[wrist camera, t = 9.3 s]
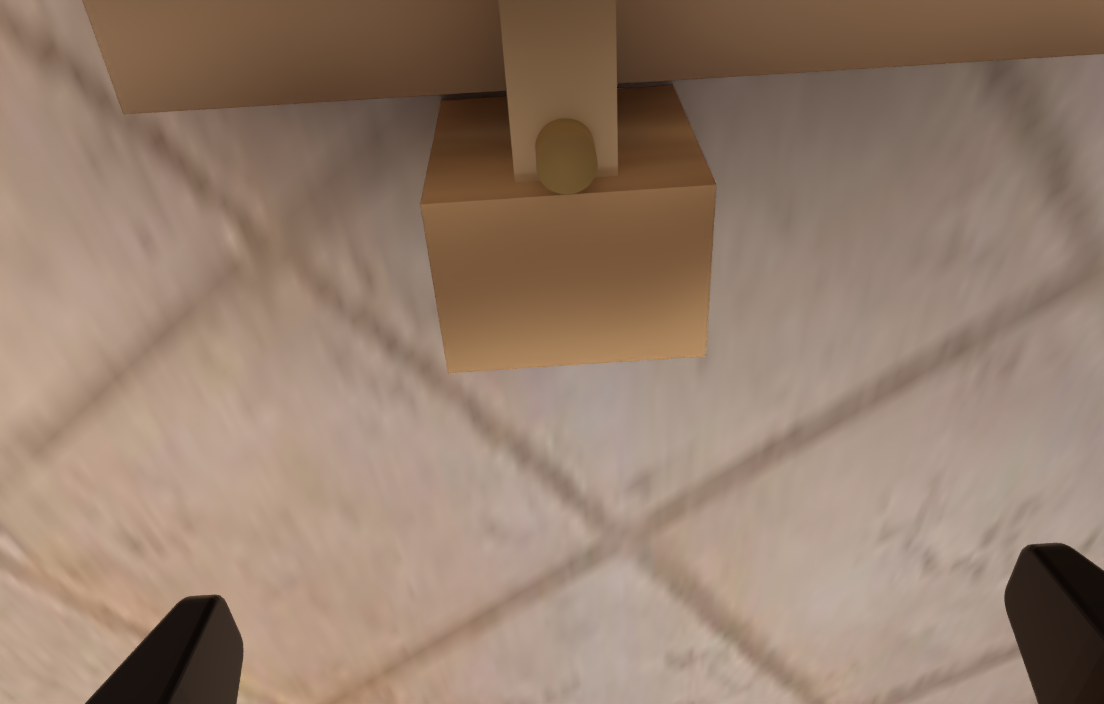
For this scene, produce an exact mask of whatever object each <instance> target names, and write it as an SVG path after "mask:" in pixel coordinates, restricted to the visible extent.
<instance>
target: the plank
mask: <svg viewBox="0 0 1104 704" xmlns="http://www.w3.org/2000/svg"><path fill="white" fill-rule="evenodd" d="M83 3H84V6H85V9H86V12H87V14H88V17H89V20H90V23H91V25H92V28H93V31H94V34H95V37H96V39H97V42H98V45H99V48H100V50H101V53H102V56H103V59H104V62H105V64H106V67H107V70H108V73H109V75H110V78H111V81H112V84H113V87H114V89H115V92H116V95H117V98H118V100H119V103H120V106H121V109H122V112H123V114H136V113H152V112H168V111H184V110H200V109H217V108H233V107H249V106H265V105H281V104H298V103H314V102H330V101H346V100H362V99H379V98H395V97H411V96H427V95H443V94H460V93H476V92H492V91H507V89H506V78H505V66H504V55H503V44H502V33H501V22H500V11H499V0H83ZM616 51H617V84H622V83H638V82H654V81H670V80H687V79H703V78H719V77H735V76H751V75H768V74H784V73H800V72H816V71H832V70H849V69H865V68H881V67H897V66H913V65H930V64H946V63H962V62H978V61H994V60H1011V59H1027V58H1043V57H1059V56H1075V55H1092V54H1104V0H616Z"/></svg>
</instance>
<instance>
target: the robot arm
mask: <svg viewBox="0 0 1104 704" xmlns="http://www.w3.org/2000/svg"><path fill="white" fill-rule="evenodd" d="M1004 599H1005V607H1006V612H1007V615H1008V618H1009V621H1010V623H1011V626H1012V629H1013V632H1014V635H1015V638H1016V641H1017V644H1018V647H1019V650H1020V652H1021V655H1022V658H1023V661H1024V664H1025V667H1026V670H1027V673H1028V676H1029V679H1030V681H1031V684H1032V687H1033V690H1034V693H1035V696H1036V699H1037V702H1038V704H1104V570H1102V569H1101V568H1099V567H1098V566H1097V565H1095V564H1094V563H1093V562H1091V561H1090V560H1088V559H1087V558H1086V557H1084V556H1083V555H1082V554H1080V553H1079V552H1077V551H1076V550H1075V549H1073V548H1071V547H1070V546H1068V545H1065V544H1062V543H1044V544H1031V545H1027V546H1026V547H1025V548H1023V549H1022V551H1021V552H1020V555H1019V557H1018V560H1017V562H1016V565H1015V567H1014V569H1013V572H1012V574H1011V577H1010V579H1009V582H1008V584H1007V586H1006V590H1005V596H1004ZM242 662H243V641H242V637H241V634H240V632H239V630H238V628H237V625H236V623H235V621H234V619H233V616H232V614H231V612H230V610H229V607H228V605H227V603H226V601H225V600H224V598H222V597H221V596H220V595H200V596H189V597H186V598H184V599H182V600H181V601H179V602H178V603H177V604H176V605H175V606H174V607H173V608H172V610H171V611H170V612H169V613H168V614H167V615H166V616H165V617H164V618H163V619H162V620H161V621H160V623H159V624H158V625H157V626H156V627H155V628H154V629H153V630H152V631H151V632H150V633H149V634H148V636H147V637H146V638H145V639H144V640H143V641H142V642H141V643H140V644H139V645H138V646H137V648H136V649H135V650H134V651H133V652H132V653H131V654H130V655H129V656H128V657H127V658H126V659H125V661H124V662H123V663H122V664H121V665H120V666H119V667H118V668H117V669H116V670H115V671H114V672H113V674H112V675H111V676H110V677H109V678H108V679H107V680H106V681H105V682H104V683H103V684H102V686H101V687H100V688H99V689H98V690H97V691H96V692H95V693H94V694H93V695H92V696H91V697H90V699H89V700H88V701H87V702H86V703H85V704H236V703H237V696H238V689H239V683H240V676H241V669H242Z"/></svg>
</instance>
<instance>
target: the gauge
mask: <svg viewBox="0 0 1104 704" xmlns="http://www.w3.org/2000/svg"><path fill="white" fill-rule="evenodd" d="M499 11H500V22H501V33H502V44H503V55H504V66H505V78H506V89H507V96H505V97H491V98H476V99H461V100H446V101H441V105H440V110H439V115H438V119H437V124H436V129H435V134H434V139H433V144H432V149H431V154H430V159H429V164H428V169H427V174H426V179H425V184H424V189H423V194H422V199H421V204H420V206H421V212H422V218H423V224H424V230H425V236H426V242H427V249H428V255H429V261H430V267H431V273H432V279H433V285H434V291H435V298H436V304H437V310H438V316H439V322H440V328H441V334H442V340H443V346H444V353H445V359H446V365H447V371H448V373H456V372H472V371H487V370H502V369H517V368H532V367H548V366H563V365H578V364H593V363H609V362H624V361H639V360H654V359H669V358H685V357H700V356H706V343H707V327H708V311H709V295H710V279H711V262H712V246H713V230H714V214H715V198H716V183H715V181H714V178H713V176H712V174H711V171H710V169H709V167H708V165H707V162H706V160H705V158H704V155H703V153H702V151H701V149H700V146H699V144H698V142H697V139H696V137H695V135H694V133H693V130H692V128H691V126H690V123H689V121H688V119H687V117H686V114H685V112H684V110H683V107H682V105H681V103H680V101H679V98H678V96H677V94H676V91H675V89H674V87H673V85H668V86H653V87H638V88H623V89H617V51H616V0H499Z"/></svg>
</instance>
